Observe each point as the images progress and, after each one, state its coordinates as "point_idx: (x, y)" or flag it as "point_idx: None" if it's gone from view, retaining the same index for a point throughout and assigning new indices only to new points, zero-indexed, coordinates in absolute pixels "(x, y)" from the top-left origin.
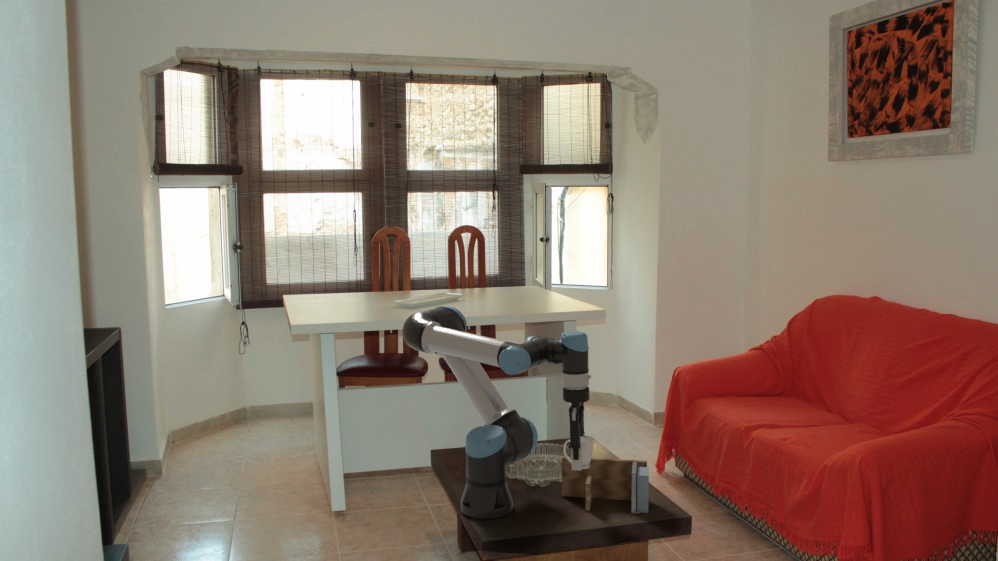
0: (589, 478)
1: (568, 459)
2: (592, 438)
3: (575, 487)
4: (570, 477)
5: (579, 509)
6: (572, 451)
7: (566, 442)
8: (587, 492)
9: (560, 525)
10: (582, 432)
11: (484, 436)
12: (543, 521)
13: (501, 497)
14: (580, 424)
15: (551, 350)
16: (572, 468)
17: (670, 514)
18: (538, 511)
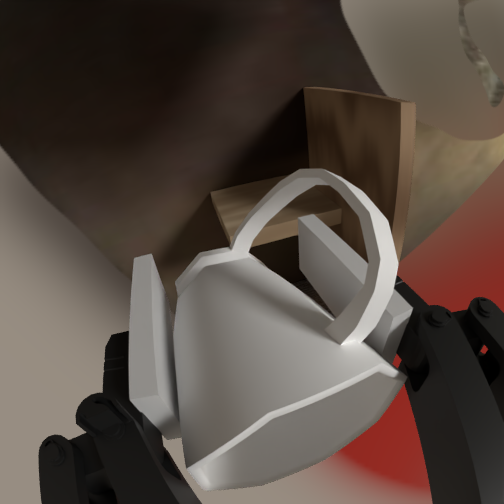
0: (293, 229)
1: (265, 202)
2: (330, 451)
3: (322, 137)
4: (342, 126)
5: (211, 171)
6: (133, 374)
7: (368, 250)
8: (222, 224)
9: (68, 164)
10: (415, 418)
11: None
12: (72, 101)
13: None
14: (440, 492)
15: None
16: (135, 269)
17: None
18: (145, 49)
